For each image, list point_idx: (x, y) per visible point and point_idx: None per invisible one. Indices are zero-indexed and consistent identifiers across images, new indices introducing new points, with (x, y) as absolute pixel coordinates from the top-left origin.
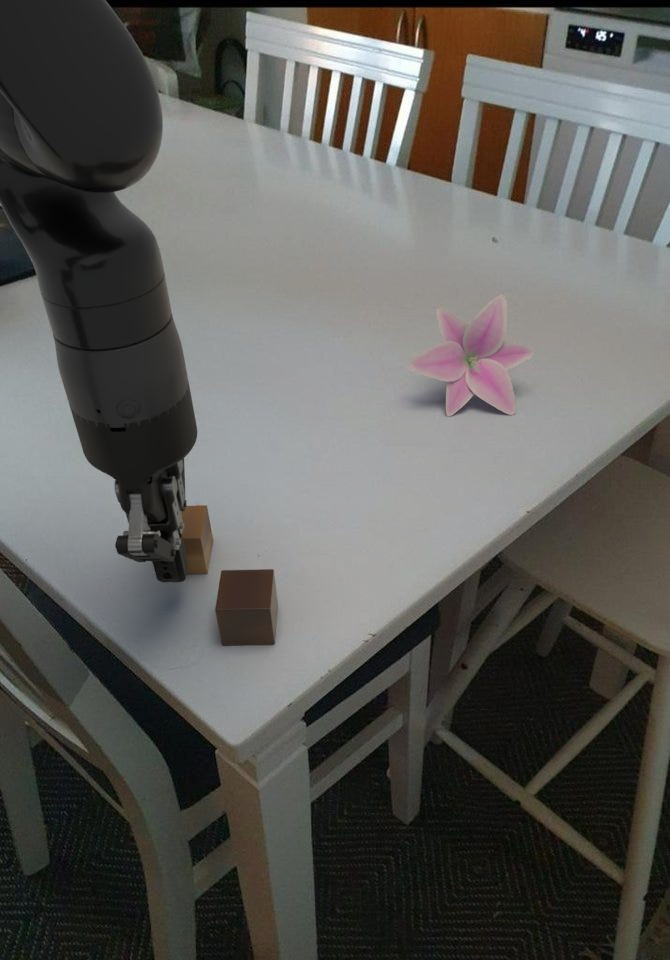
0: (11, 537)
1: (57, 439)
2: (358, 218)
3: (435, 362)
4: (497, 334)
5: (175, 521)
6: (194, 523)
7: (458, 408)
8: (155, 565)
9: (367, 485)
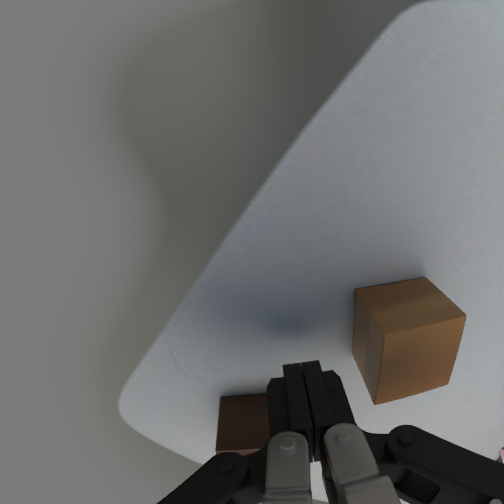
0: (419, 4)
1: None
2: None
3: None
4: None
5: None
6: (411, 386)
7: (502, 456)
8: (268, 415)
9: (452, 439)
